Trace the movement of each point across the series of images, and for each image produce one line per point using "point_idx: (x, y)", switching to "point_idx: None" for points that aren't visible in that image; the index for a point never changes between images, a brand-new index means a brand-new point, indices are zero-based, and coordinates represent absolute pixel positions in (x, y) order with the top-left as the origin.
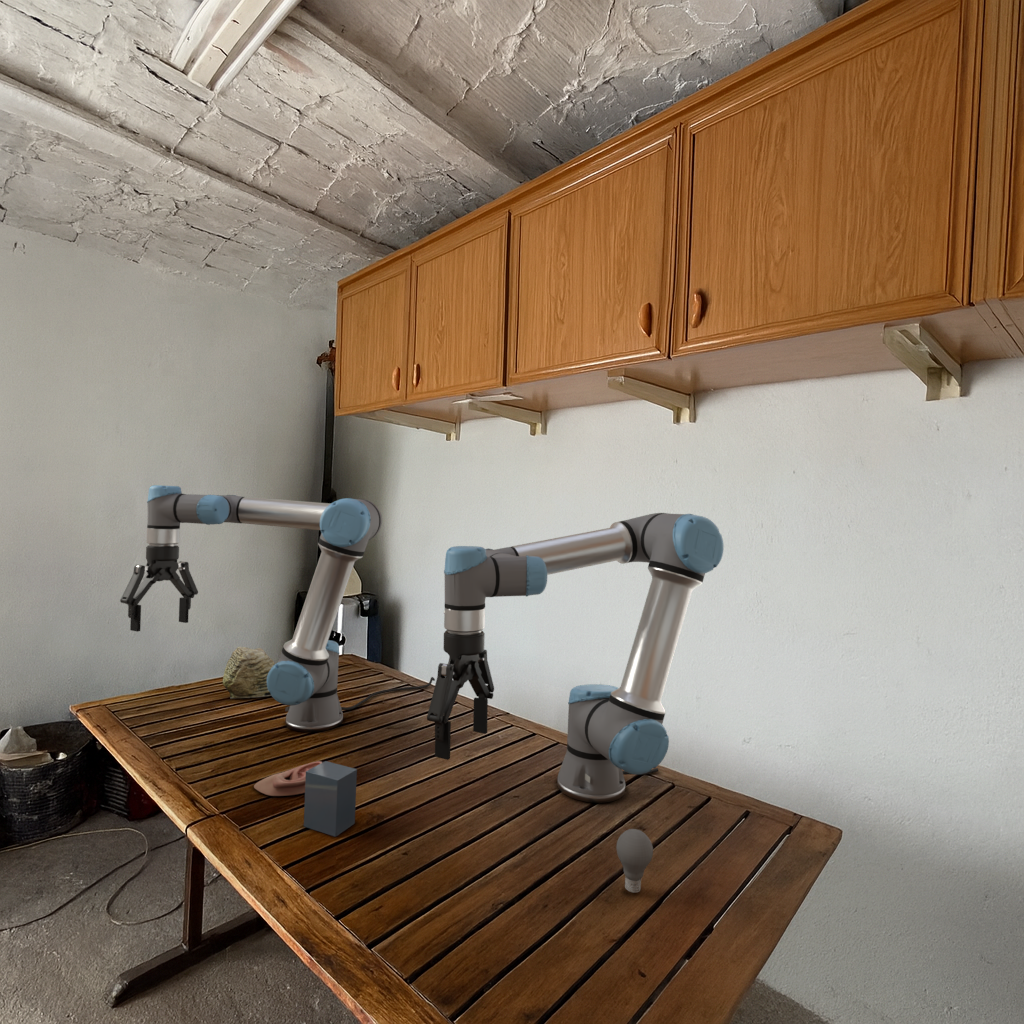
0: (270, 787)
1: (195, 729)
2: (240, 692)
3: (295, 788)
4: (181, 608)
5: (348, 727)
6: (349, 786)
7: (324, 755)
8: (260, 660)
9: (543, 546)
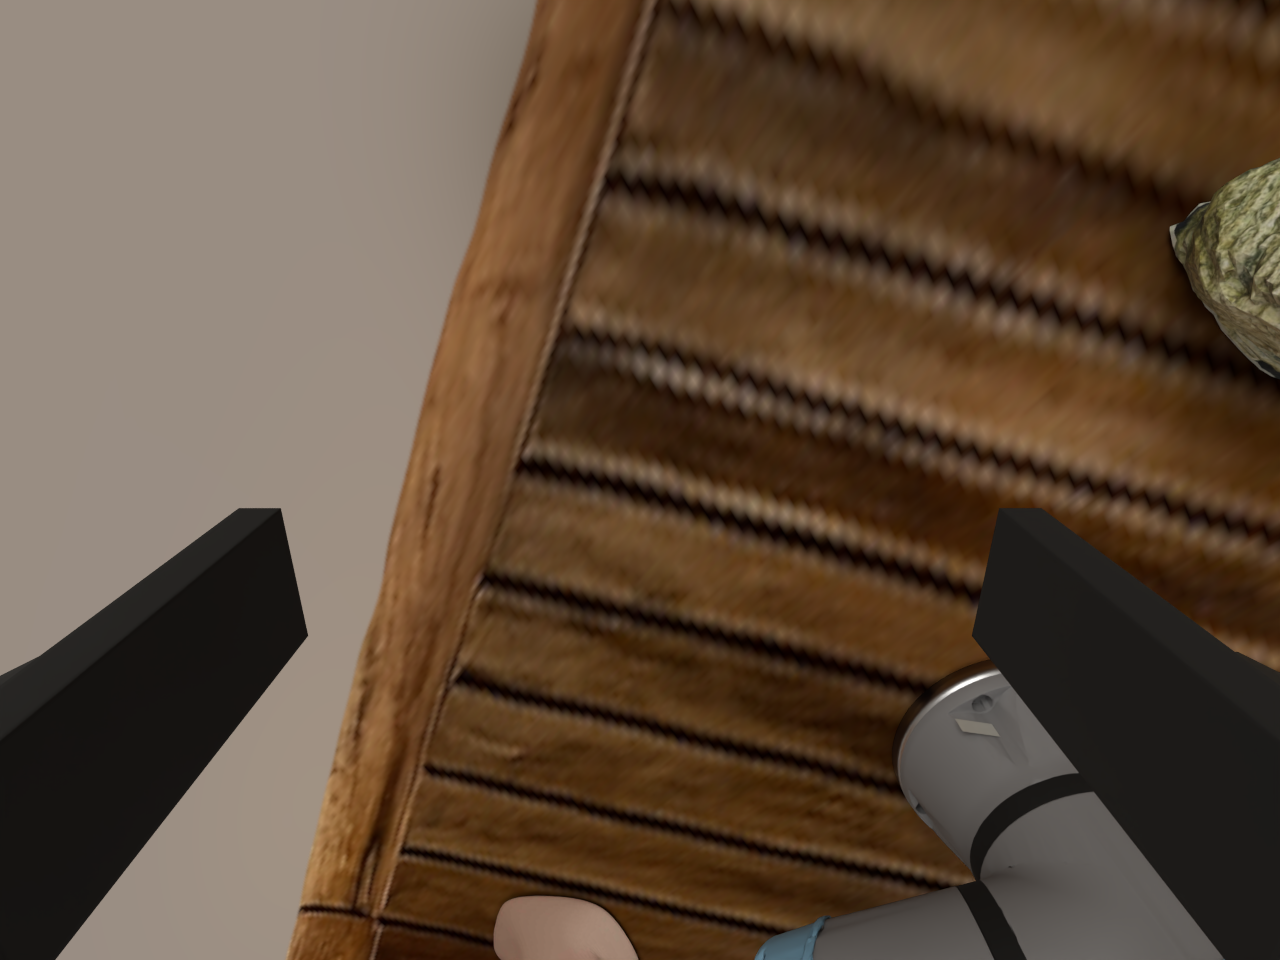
0: (506, 953)
1: (742, 444)
2: (1197, 295)
3: None
4: (1123, 681)
5: None
6: None
7: (763, 906)
8: None
9: None
